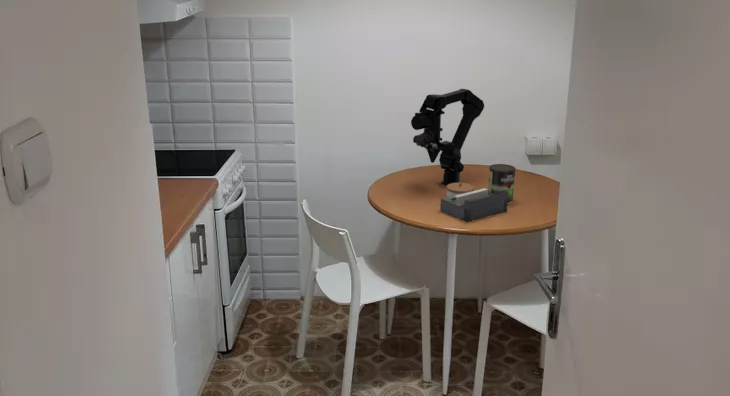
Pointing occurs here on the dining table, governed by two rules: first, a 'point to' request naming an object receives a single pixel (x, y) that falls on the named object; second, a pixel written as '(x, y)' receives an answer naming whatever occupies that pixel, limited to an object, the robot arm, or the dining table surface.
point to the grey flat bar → (470, 195)
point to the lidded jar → (458, 189)
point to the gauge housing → (476, 206)
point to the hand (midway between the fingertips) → (432, 162)
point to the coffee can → (502, 179)
